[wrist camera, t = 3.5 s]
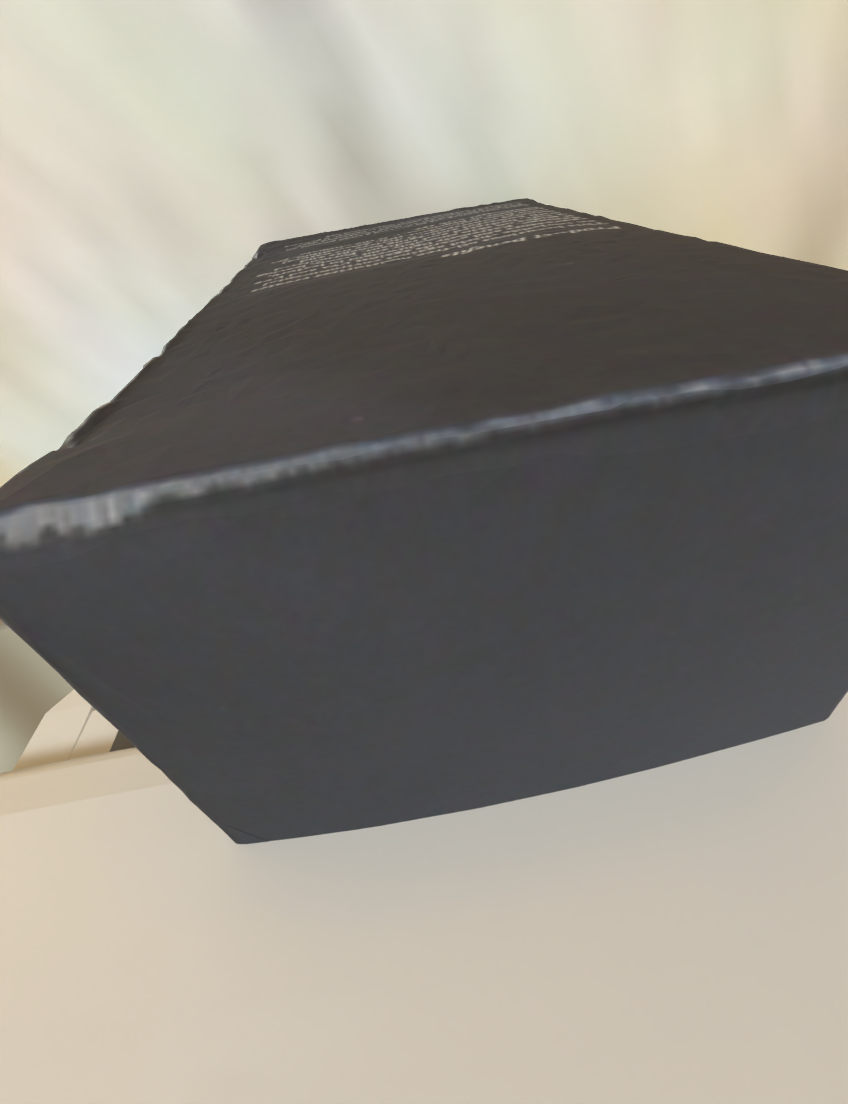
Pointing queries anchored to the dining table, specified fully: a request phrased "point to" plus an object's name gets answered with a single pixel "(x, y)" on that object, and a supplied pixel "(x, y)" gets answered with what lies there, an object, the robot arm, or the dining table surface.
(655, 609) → the small box
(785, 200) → the dining table surface
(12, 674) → the walnut picture frame
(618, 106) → the dining table surface
